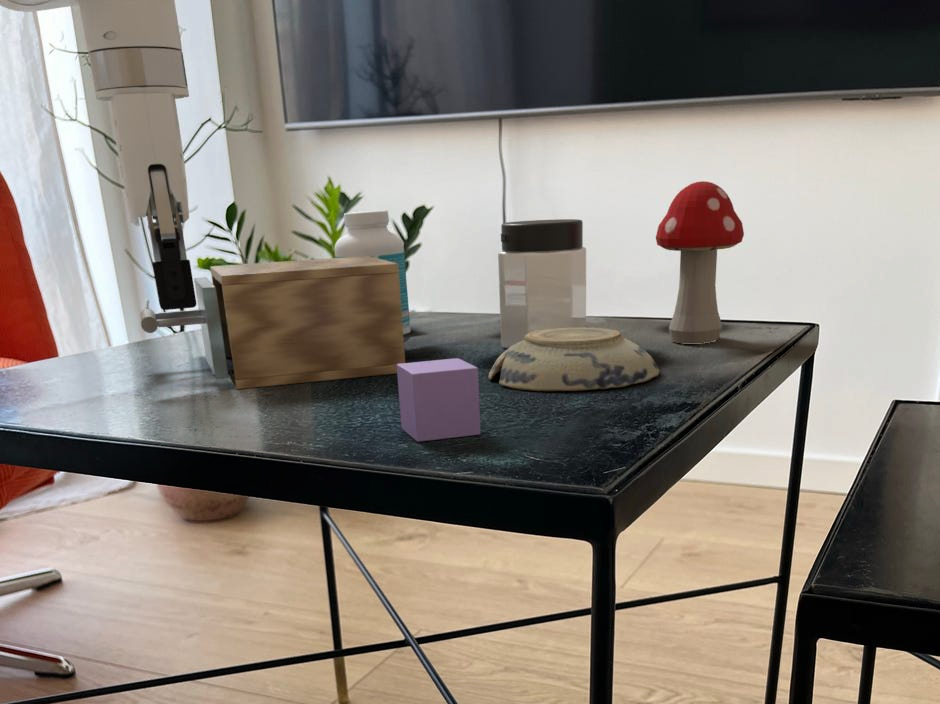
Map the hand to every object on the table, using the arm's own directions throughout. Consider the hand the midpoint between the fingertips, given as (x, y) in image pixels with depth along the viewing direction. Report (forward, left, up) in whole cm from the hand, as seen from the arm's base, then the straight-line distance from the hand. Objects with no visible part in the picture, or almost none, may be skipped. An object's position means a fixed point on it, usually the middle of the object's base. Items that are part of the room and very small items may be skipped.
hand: (178, 307), depth 92 cm
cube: (-2, -35, -7) cm, 36 cm away
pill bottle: (+25, +1, -7) cm, 26 cm away
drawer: (+6, -3, -6) cm, 9 cm away
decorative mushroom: (+42, -29, -7) cm, 51 cm away
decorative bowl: (+20, -30, -7) cm, 36 cm away
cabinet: (+10, -6, -7) cm, 13 cm away
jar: (+32, -17, -7) cm, 37 cm away
